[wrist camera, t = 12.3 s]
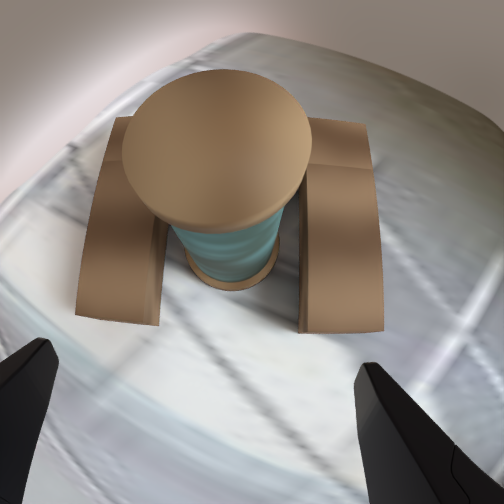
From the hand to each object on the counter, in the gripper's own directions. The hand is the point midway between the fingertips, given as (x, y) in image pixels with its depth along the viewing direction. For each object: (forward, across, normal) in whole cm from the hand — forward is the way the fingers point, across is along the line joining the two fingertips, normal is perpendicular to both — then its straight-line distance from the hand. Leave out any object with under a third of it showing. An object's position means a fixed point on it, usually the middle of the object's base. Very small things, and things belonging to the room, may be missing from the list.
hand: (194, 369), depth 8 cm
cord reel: (+14, 0, +4) cm, 15 cm away
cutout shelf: (+15, 0, +3) cm, 16 cm away
